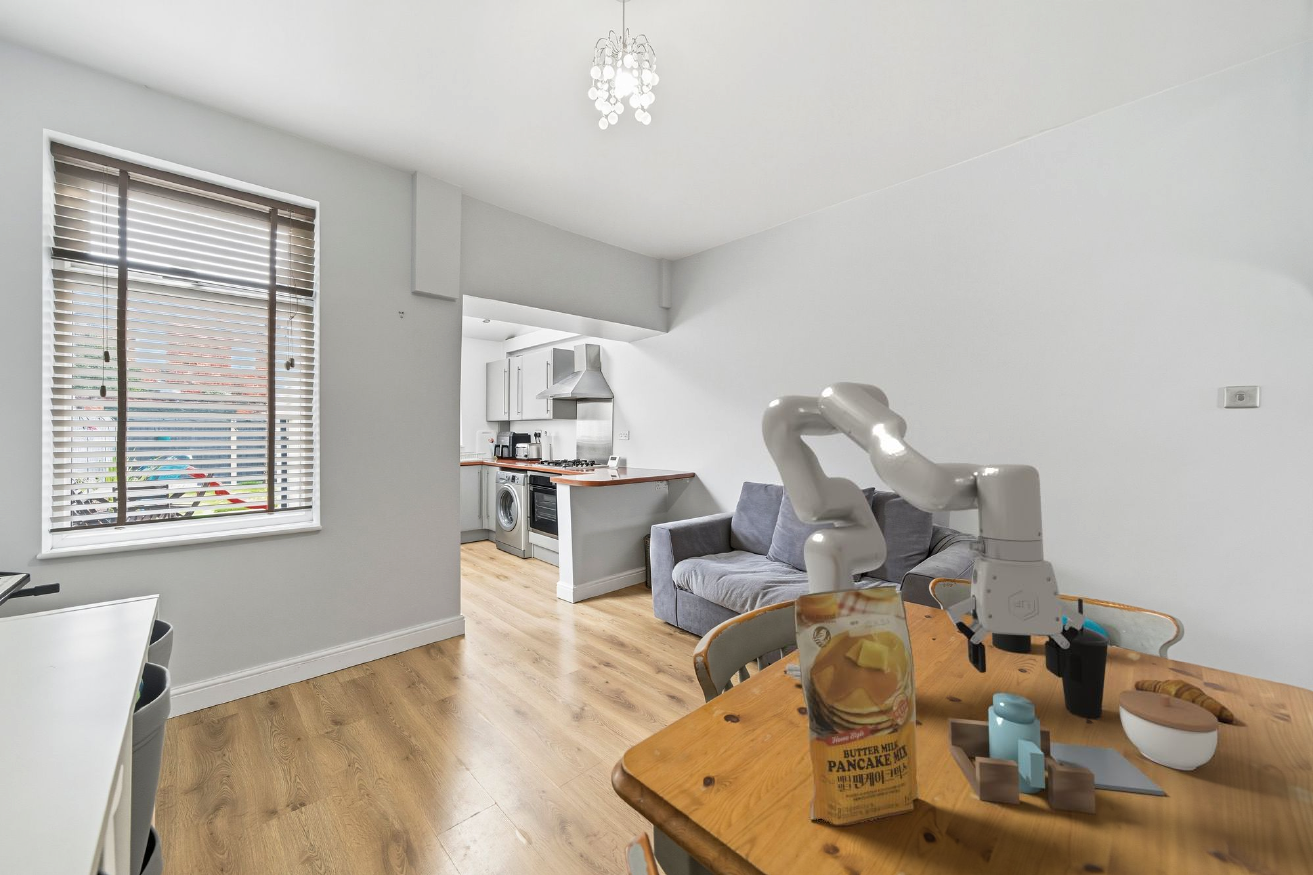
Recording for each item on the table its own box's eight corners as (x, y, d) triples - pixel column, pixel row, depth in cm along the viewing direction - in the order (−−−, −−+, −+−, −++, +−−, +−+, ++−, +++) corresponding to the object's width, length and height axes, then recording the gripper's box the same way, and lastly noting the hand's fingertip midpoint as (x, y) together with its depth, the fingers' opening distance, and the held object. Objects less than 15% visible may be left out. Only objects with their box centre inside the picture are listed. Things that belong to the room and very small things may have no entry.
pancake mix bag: (783, 799, 68) (780, 589, 69) (903, 776, 73) (899, 580, 73) (809, 836, 61) (806, 604, 62) (940, 808, 66) (935, 592, 67)
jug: (1012, 806, 67) (1010, 721, 67) (982, 763, 76) (981, 689, 76) (1064, 812, 65) (1062, 726, 66) (1027, 768, 74) (1026, 692, 75)
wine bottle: (984, 643, 123) (981, 519, 124) (1007, 639, 125) (1005, 517, 126) (1015, 655, 116) (1011, 523, 116) (1039, 650, 118) (1035, 521, 119)
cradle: (980, 799, 68) (979, 761, 68) (948, 750, 79) (948, 717, 79) (1095, 813, 65) (1094, 774, 65) (1046, 760, 76) (1045, 726, 76)
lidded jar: (1117, 730, 84) (1115, 673, 85) (1211, 754, 78) (1209, 692, 78) (1122, 761, 76) (1120, 698, 76) (1228, 791, 69) (1225, 721, 69)
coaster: (1079, 786, 70) (1079, 781, 70) (1040, 745, 80) (1040, 741, 80) (1164, 795, 68) (1164, 791, 68) (1113, 752, 78) (1113, 748, 78)
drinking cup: (1123, 725, 86) (1119, 606, 86) (1071, 720, 87) (1068, 604, 88) (1094, 703, 93) (1091, 594, 94) (1047, 699, 95) (1044, 592, 95)
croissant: (1244, 722, 87) (1243, 693, 87) (1222, 729, 85) (1221, 699, 85) (1146, 688, 100) (1146, 662, 100) (1125, 693, 98) (1124, 667, 98)
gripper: (954, 553, 71) (959, 678, 70) (1096, 556, 67) (1104, 687, 67) (936, 544, 78) (940, 657, 77) (1063, 546, 75) (1070, 664, 74)
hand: (1016, 671), depth 72 cm, fingers open, 9 cm apart
